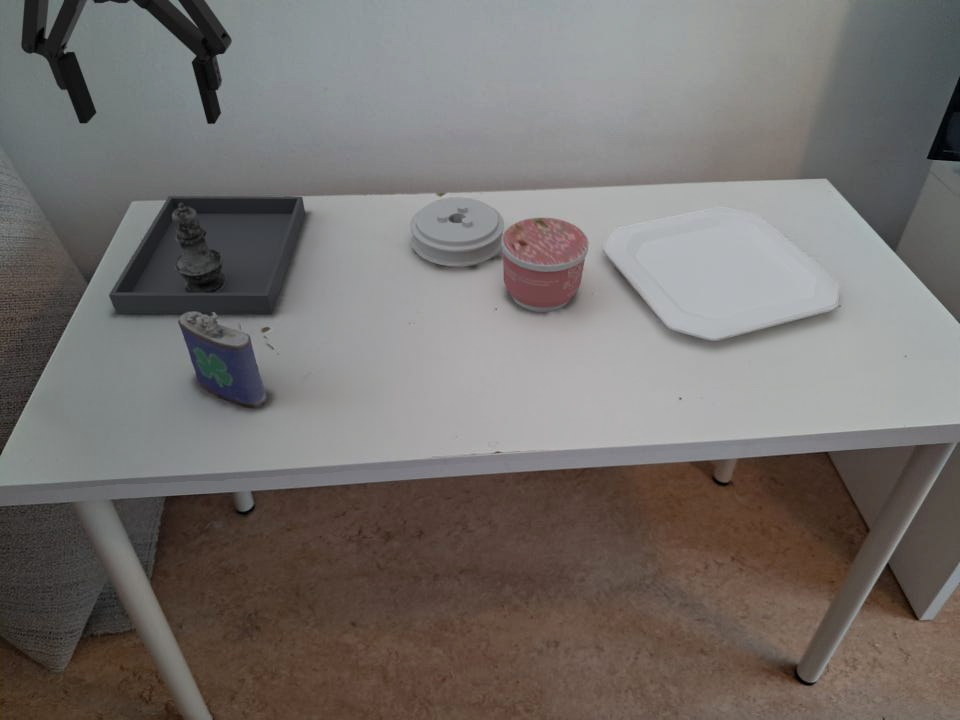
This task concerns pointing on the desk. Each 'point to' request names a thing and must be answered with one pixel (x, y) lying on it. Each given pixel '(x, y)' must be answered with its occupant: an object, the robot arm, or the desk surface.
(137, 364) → the desk surface
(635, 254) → the plate
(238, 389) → the flask
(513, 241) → the container
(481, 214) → the grey pulley wheel
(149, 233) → the tray
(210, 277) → the chess piece
